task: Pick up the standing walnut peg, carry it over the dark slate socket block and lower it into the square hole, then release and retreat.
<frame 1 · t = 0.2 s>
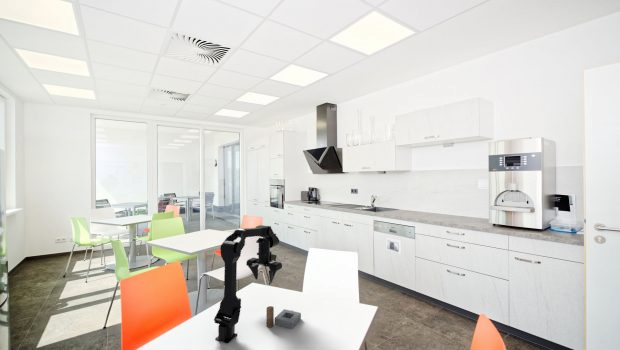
hand: (263, 280, 139), 14 cm above the table, fingers open, 9 cm apart
peg: (270, 325, 124), on the table
socket: (287, 321, 127), on the table
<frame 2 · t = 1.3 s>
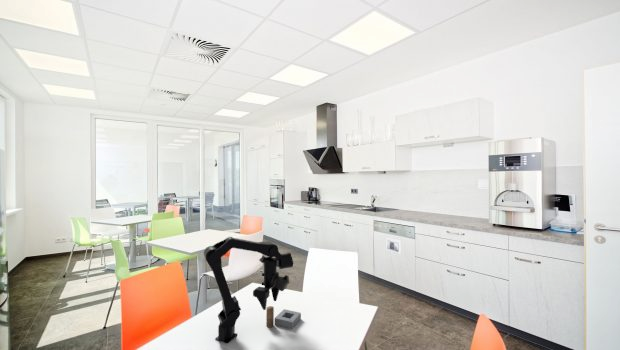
hand: (269, 305, 124), 9 cm above the table, fingers open, 9 cm apart
nothing on the table moved.
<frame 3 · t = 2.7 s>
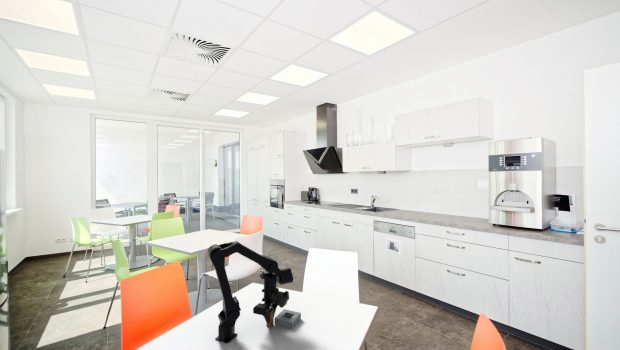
hand: (270, 321, 124), 2 cm above the table, fingers closed on peg, 3 cm apart
peg: (270, 325, 124), on the table, touching gripper
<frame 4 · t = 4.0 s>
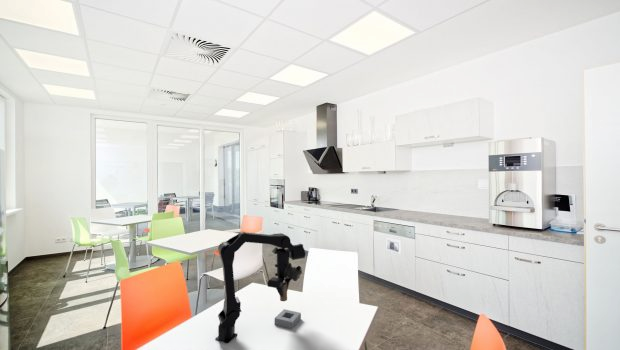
hand: (283, 295, 126), 13 cm above the table, fingers closed on peg, 3 cm apart
peg: (283, 299, 126), point 11 cm above the table, touching gripper
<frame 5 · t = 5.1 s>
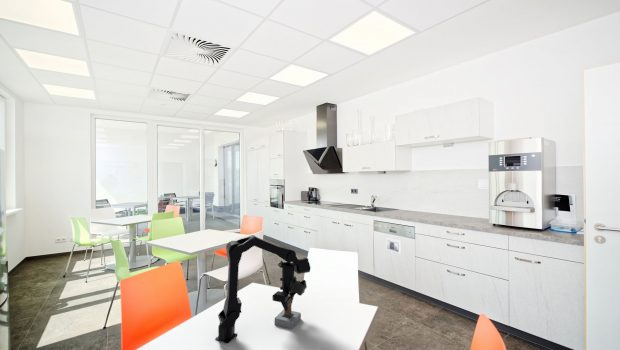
hand: (287, 309, 127), 6 cm above the table, fingers closed on peg, 3 cm apart
peg: (287, 313, 127), point 4 cm above the table, touching gripper
when the fingers open (4 cm above the table, at t = 5.7 s): peg drops 2 cm, resting in socket.
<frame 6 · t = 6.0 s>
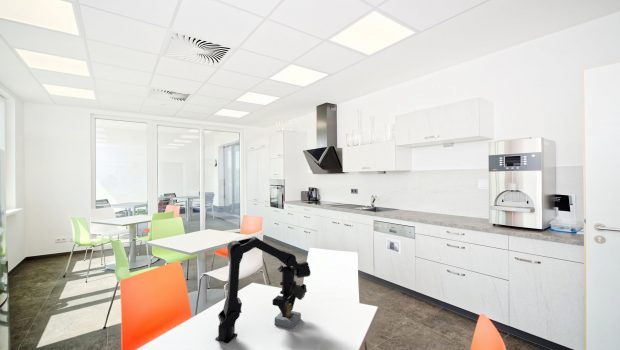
hand: (287, 313, 127), 4 cm above the table, fingers open, 6 cm apart
peg: (287, 321, 127), resting in socket
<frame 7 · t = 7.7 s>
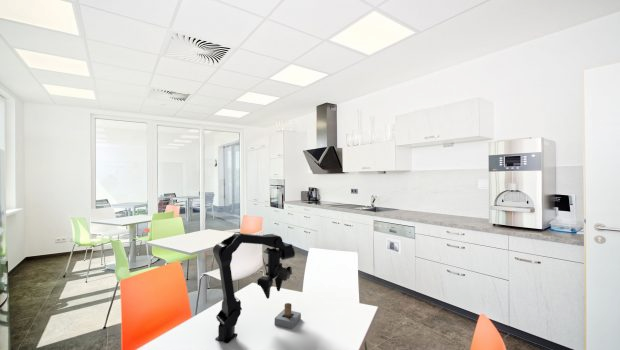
hand: (273, 294, 129), 12 cm above the table, fingers open, 9 cm apart
nothing on the table moved.
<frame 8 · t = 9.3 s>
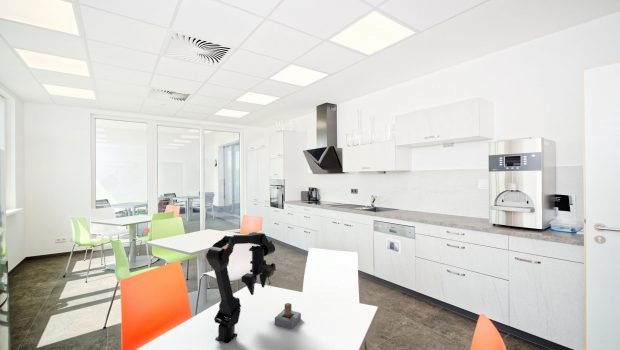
hand: (257, 290, 132), 12 cm above the table, fingers open, 9 cm apart
nothing on the table moved.
at the end: peg 0.0 cm off-centre on the socket, point 0.0 cm above the socket's base; peg tilted 0°; the gripper is holding nothing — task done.
